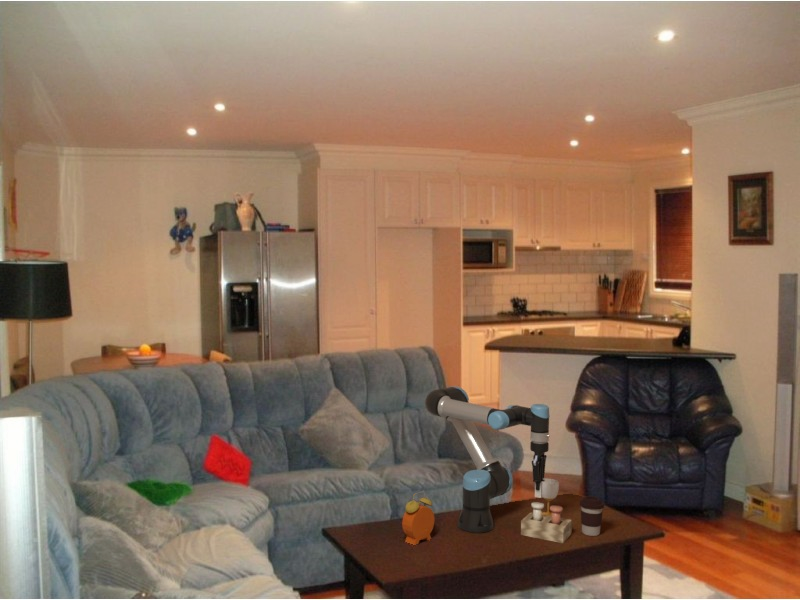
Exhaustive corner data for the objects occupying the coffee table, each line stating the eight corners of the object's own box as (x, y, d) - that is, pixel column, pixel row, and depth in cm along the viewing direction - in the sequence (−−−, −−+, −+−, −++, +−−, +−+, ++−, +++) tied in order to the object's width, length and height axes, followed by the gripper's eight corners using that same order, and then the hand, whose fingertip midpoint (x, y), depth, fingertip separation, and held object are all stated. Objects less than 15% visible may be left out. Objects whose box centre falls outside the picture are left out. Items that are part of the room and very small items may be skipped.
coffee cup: (603, 538, 309) (604, 503, 308) (579, 536, 311) (580, 501, 310) (602, 530, 318) (603, 495, 317) (578, 528, 320) (579, 493, 319)
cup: (560, 520, 330) (561, 484, 329) (539, 519, 330) (540, 483, 329) (556, 513, 339) (557, 478, 338) (536, 512, 339) (537, 477, 338)
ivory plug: (529, 523, 313) (529, 504, 313) (533, 520, 318) (533, 501, 317) (541, 526, 311) (541, 506, 310) (545, 522, 315) (545, 503, 315)
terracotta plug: (547, 527, 309) (548, 508, 309) (551, 523, 314) (552, 504, 313) (560, 529, 307) (560, 510, 306) (563, 526, 311) (564, 506, 311)
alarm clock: (423, 534, 310) (424, 487, 309) (434, 538, 305) (435, 490, 304) (401, 542, 301) (401, 494, 299) (411, 547, 296) (412, 497, 295)
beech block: (520, 534, 311) (521, 520, 311) (530, 525, 322) (530, 512, 322) (563, 543, 303) (563, 528, 303) (571, 533, 313) (571, 519, 313)
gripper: (543, 446, 305) (542, 502, 306) (552, 439, 316) (551, 494, 317) (525, 443, 308) (524, 499, 309) (535, 437, 320) (534, 491, 321)
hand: (538, 496), depth 313 cm, fingers closed
